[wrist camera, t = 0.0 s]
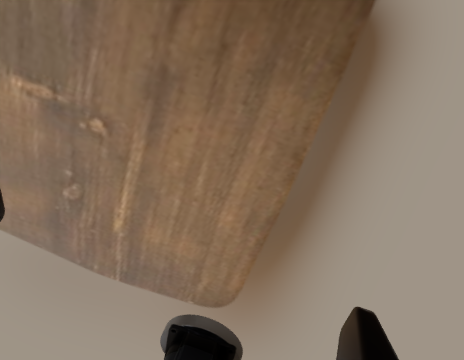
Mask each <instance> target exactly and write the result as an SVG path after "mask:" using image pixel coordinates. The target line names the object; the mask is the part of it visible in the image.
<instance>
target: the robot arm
mask: <svg viewBox="0 0 464 360" xmlns="http://www.w3.org/2000/svg"><path fill="white" fill-rule="evenodd" d="M4 213H5V208H4V203H3V198H2V193H1V189H0V221H1V220H2V218H3V216H4ZM236 350H237V348H236V347H235V346H234V345H232V344H229V343H226V342H224V341H221V340H218V339H215V338H212V337H210V336H207V335H204V334H201V333H199V332H196V331H193V330H190V329H187V328H185V327H182V326H179V325H176V324H171V326H170V328H169V331H168V337H167V344H166V350H165V356H164V360H233V359H234V357H235V354H236ZM336 360H399V359H398V357H397V355H396V353H395V351H394V349H393V348H392V346H391V344H390V342H389V340H388V338H387V336H386V334H385V332H384V330H383V328H382V326H381V324H380V322H379V320H378V318H377V317H376V315H375V314H374V313H373V312H372V311H370V310H367V309H363V308H361V307H355V308H354V309H353V310H352V312H351V313H350V315H349V317H348V318H347V320H346V322H345V323H344V325H343V327H342V329H341V332H340V337H339V345H338V351H337V358H336Z"/></svg>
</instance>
